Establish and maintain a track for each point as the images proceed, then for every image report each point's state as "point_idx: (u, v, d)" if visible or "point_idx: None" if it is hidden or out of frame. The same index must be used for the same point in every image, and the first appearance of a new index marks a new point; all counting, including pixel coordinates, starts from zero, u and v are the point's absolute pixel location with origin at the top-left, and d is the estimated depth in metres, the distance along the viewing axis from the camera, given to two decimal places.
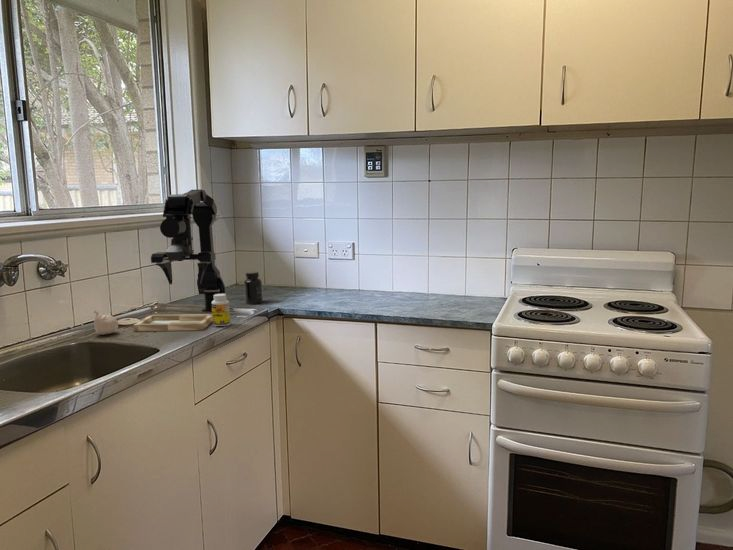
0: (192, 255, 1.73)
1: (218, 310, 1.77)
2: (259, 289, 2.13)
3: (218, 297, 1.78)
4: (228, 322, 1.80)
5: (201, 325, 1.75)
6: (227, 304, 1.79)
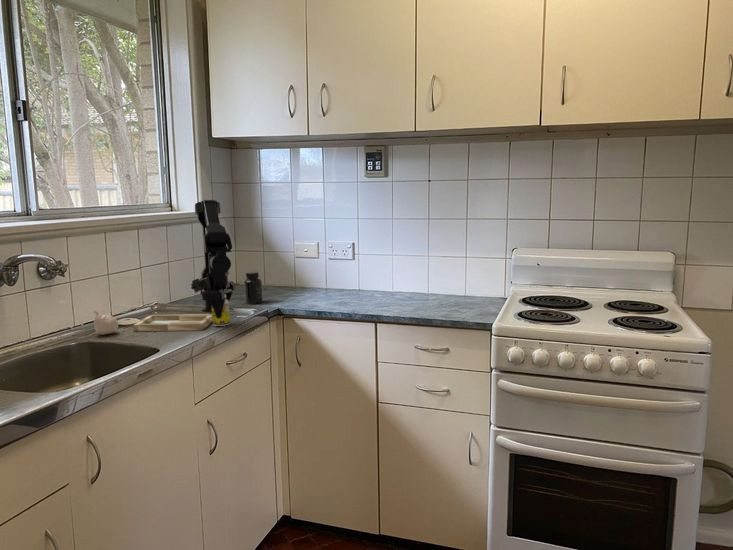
0: None
1: None
2: (259, 289, 2.13)
3: None
4: (228, 322, 1.80)
5: (201, 325, 1.75)
6: (227, 304, 1.79)
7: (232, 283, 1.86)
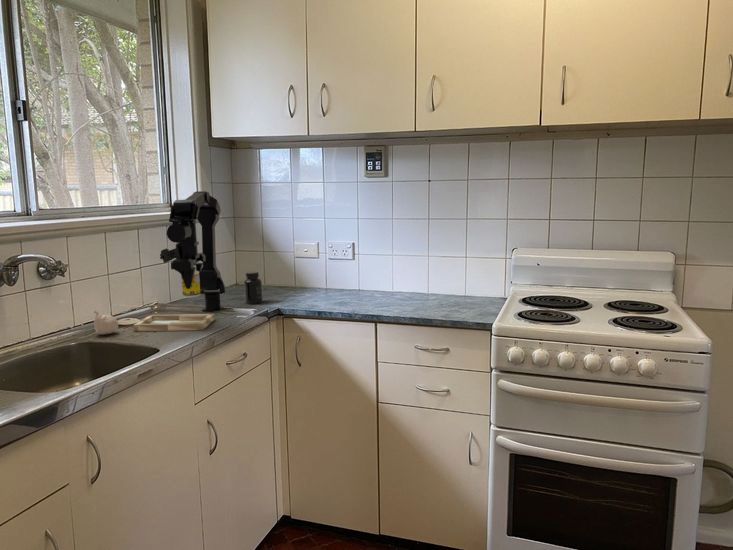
0: None
1: None
2: (259, 289, 2.13)
3: None
4: (198, 293, 1.79)
5: (201, 325, 1.75)
6: (197, 275, 1.78)
7: (202, 254, 1.85)
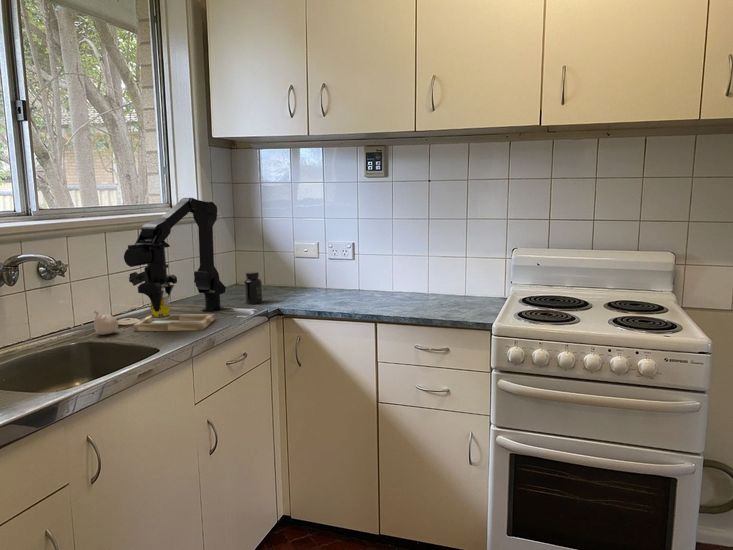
0: None
1: None
2: (259, 289, 2.13)
3: None
4: (167, 315, 1.81)
5: (201, 325, 1.75)
6: (166, 297, 1.80)
7: (173, 276, 1.87)
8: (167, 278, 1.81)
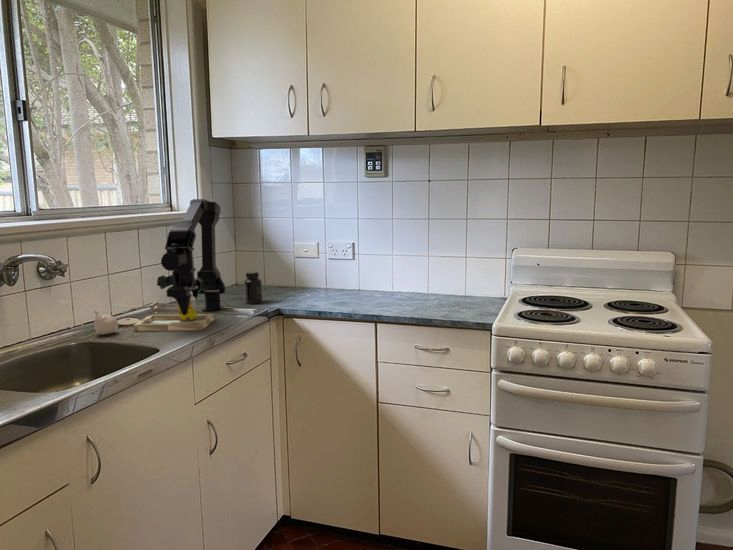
0: None
1: None
2: (259, 289, 2.13)
3: None
4: (194, 319, 1.81)
5: (201, 325, 1.75)
6: (193, 301, 1.80)
7: (200, 280, 1.87)
8: (194, 282, 1.81)
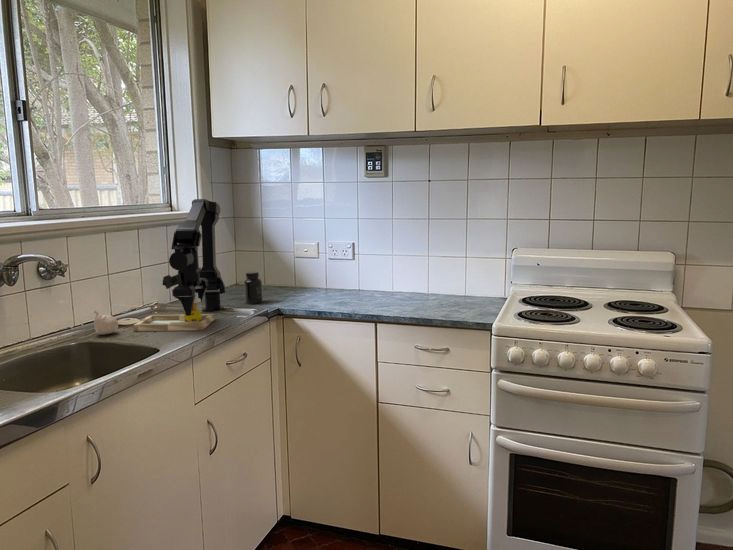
0: None
1: None
2: (259, 289, 2.13)
3: None
4: (200, 320, 1.81)
5: (201, 325, 1.75)
6: (199, 302, 1.80)
7: (205, 280, 1.87)
8: (200, 281, 1.81)
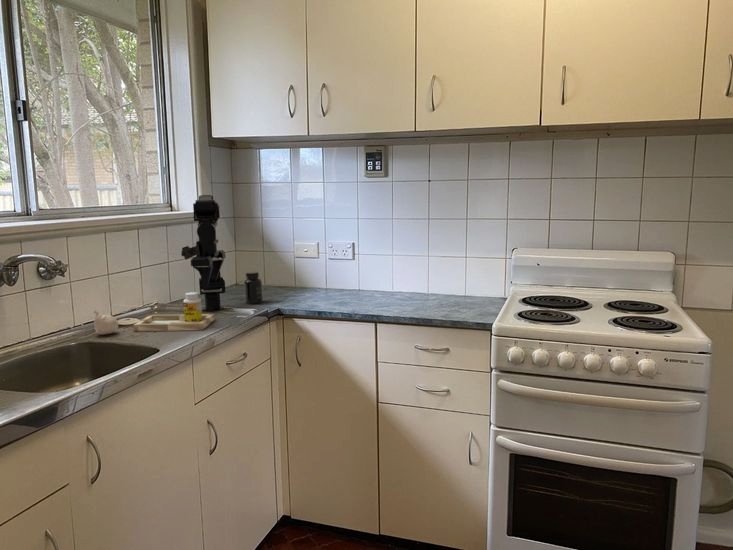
0: None
1: (190, 308, 1.78)
2: (259, 289, 2.13)
3: (190, 296, 1.79)
4: (200, 320, 1.81)
5: (201, 325, 1.75)
6: (199, 303, 1.80)
7: (222, 252, 1.92)
8: (217, 253, 1.86)
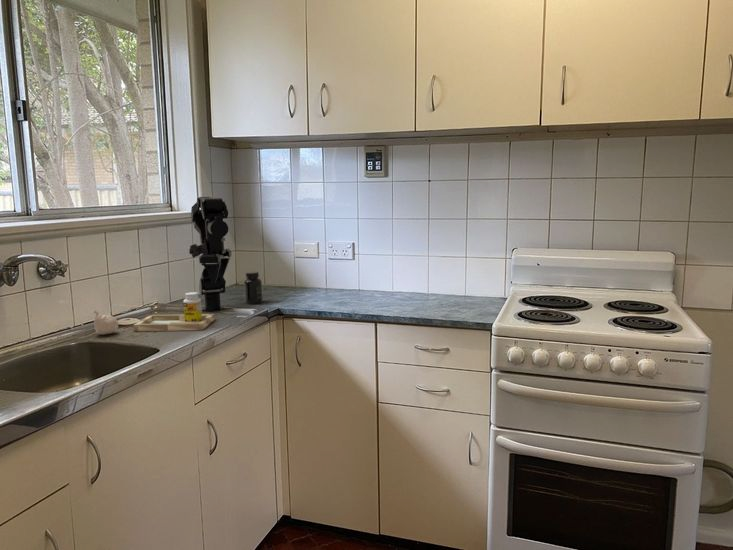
0: None
1: (190, 308, 1.78)
2: (259, 289, 2.13)
3: (190, 296, 1.79)
4: (200, 320, 1.81)
5: (201, 325, 1.75)
6: (199, 302, 1.80)
7: (228, 250, 1.95)
8: (224, 251, 1.89)
